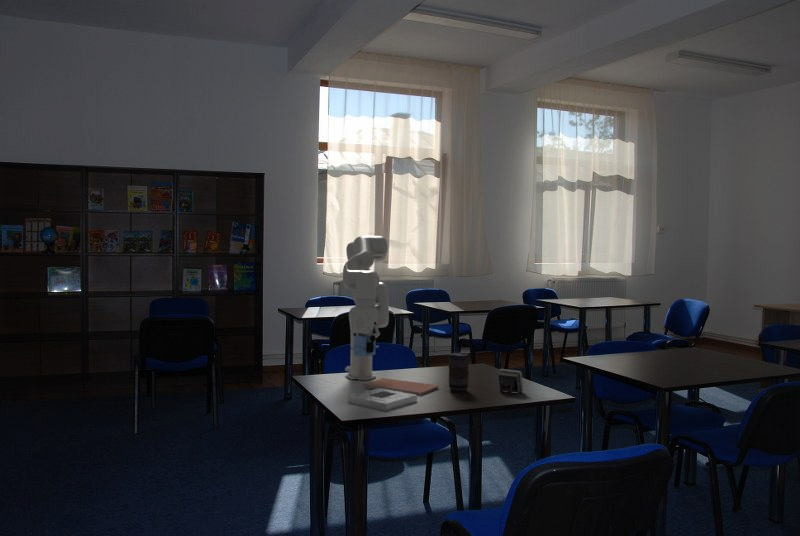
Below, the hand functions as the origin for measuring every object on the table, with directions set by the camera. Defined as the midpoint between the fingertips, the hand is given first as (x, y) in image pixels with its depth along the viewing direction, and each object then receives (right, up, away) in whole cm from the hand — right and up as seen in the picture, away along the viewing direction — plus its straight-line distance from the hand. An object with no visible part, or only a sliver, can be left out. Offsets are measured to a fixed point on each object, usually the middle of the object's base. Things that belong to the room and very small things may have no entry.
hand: (365, 351), depth 243 cm
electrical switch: (+57, -18, +12) cm, 62 cm away
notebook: (+13, -18, +18) cm, 29 cm away
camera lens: (+37, -18, +14) cm, 43 cm away
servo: (0, -1, 0) cm, 1 cm away
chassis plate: (+7, -18, -6) cm, 20 cm away
